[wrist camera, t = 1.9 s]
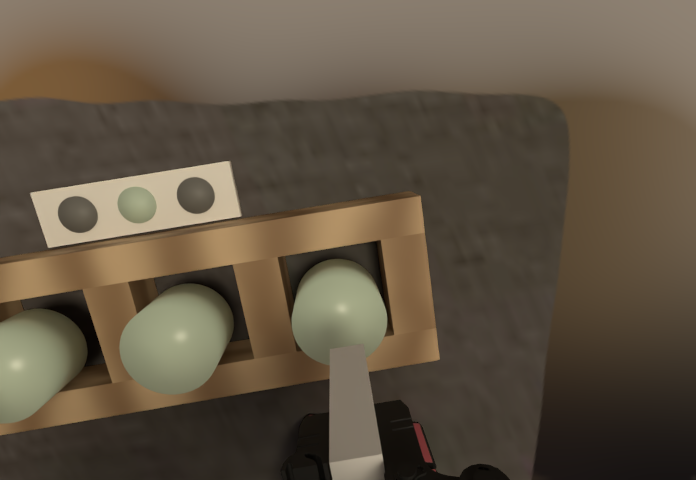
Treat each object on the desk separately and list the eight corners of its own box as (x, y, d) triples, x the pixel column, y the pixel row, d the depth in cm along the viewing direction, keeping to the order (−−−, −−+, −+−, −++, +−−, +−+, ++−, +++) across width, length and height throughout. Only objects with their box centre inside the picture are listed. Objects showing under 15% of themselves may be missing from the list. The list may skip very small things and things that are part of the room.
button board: (18, 407, 32) (-19, 438, 28) (-37, 263, 29) (-85, 278, 26) (427, 338, 32) (439, 359, 29) (409, 191, 30) (420, 195, 26)
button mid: (161, 366, 28) (134, 401, 24) (139, 290, 26) (107, 314, 22) (241, 353, 28) (228, 385, 24) (223, 276, 26) (206, 298, 23)
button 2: (16, 391, 27) (-36, 431, 23) (-12, 316, 26) (-72, 344, 22) (97, 377, 27) (60, 414, 24) (73, 301, 26) (29, 327, 22)
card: (51, 246, 29) (46, 248, 28) (34, 192, 28) (27, 193, 28) (242, 215, 29) (240, 216, 29) (230, 160, 28) (228, 161, 28)
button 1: (304, 342, 28) (301, 373, 24) (289, 266, 27) (283, 285, 23) (383, 329, 28) (393, 357, 24) (372, 252, 27) (380, 269, 23)
